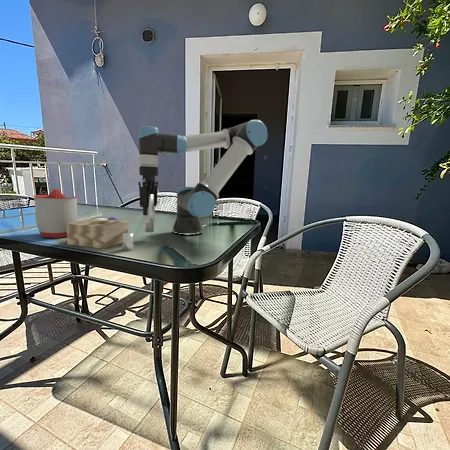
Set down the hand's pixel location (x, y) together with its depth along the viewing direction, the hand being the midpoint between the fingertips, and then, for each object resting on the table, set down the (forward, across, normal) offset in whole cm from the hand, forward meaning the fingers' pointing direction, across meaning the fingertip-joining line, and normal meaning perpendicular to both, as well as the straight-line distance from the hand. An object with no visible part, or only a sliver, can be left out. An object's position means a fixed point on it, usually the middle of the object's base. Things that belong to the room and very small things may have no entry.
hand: (148, 221), depth 114 cm
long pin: (+4, 0, 0) cm, 4 cm away
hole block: (+8, +10, -16) cm, 21 cm away
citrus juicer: (+8, +6, -38) cm, 40 cm away
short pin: (+8, +16, 0) cm, 18 cm away
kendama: (+8, -10, -28) cm, 31 cm away
